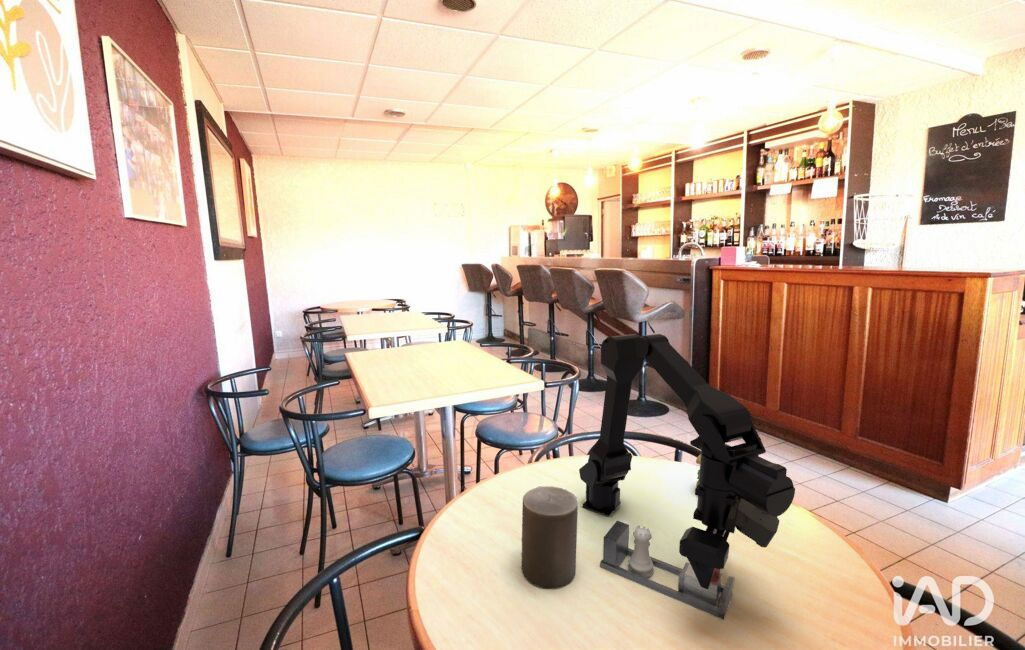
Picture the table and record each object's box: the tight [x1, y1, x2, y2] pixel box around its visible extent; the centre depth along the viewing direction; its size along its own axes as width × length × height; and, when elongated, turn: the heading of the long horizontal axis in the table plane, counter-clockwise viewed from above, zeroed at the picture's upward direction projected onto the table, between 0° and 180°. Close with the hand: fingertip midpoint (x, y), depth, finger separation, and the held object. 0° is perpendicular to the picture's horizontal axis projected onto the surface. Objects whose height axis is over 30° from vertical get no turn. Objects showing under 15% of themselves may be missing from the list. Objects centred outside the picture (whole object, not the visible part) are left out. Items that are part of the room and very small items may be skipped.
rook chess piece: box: [627, 525, 655, 579], centre depth 83 cm, size 4×4×8 cm
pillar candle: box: [521, 485, 578, 590], centre depth 83 cm, size 10×10×15 cm
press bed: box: [599, 520, 735, 621], centre depth 81 cm, size 21×7×6 cm, turn 55°
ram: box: [677, 561, 723, 607], centre depth 77 cm, size 6×4×10 cm
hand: (711, 570), depth 76 cm, fingers open, 9 cm apart
